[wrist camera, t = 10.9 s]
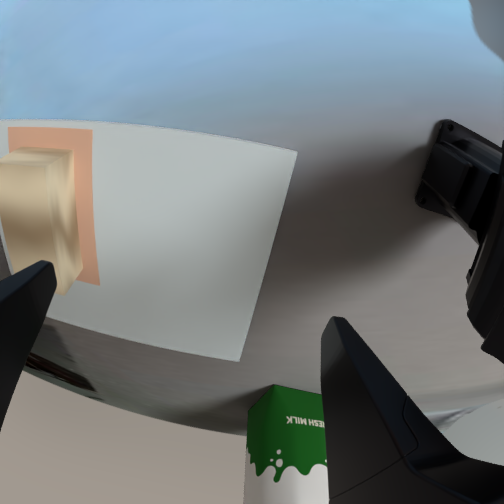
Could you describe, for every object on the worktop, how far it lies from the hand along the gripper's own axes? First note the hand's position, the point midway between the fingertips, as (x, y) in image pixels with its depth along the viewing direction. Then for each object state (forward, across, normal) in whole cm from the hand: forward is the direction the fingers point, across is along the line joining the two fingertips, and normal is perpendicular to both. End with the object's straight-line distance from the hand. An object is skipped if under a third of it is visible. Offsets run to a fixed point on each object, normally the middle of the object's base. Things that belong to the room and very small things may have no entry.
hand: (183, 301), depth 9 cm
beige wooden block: (+12, +13, +5) cm, 18 cm away
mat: (+12, +8, +8) cm, 16 cm away
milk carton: (+12, -11, +26) cm, 31 cm away
